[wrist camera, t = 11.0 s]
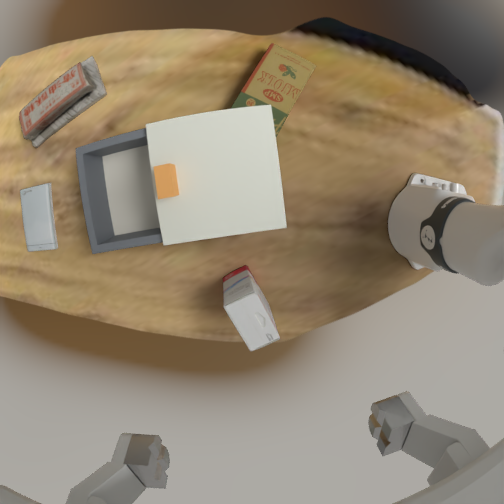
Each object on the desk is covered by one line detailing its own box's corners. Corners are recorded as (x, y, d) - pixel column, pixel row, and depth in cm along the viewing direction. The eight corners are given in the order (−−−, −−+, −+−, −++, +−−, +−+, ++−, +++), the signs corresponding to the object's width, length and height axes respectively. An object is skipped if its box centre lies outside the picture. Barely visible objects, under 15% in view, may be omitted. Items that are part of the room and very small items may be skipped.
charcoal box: (186, 130, 42) (177, 121, 34) (200, 227, 46) (194, 237, 38) (98, 151, 41) (75, 148, 34) (112, 242, 45) (92, 254, 38)
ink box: (221, 276, 48) (219, 305, 37) (248, 262, 48) (254, 289, 37) (245, 316, 50) (249, 354, 39) (270, 304, 50) (281, 339, 39)
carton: (311, 73, 41) (318, 65, 37) (268, 149, 44) (272, 146, 40) (268, 51, 39) (271, 41, 35) (222, 126, 42) (222, 121, 38)
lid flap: (270, 106, 34) (274, 97, 30) (285, 226, 39) (292, 232, 34) (147, 125, 34) (137, 119, 30) (165, 244, 38) (157, 252, 34)
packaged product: (23, 148, 35) (13, 107, 33) (37, 149, 40) (26, 111, 38) (98, 88, 35) (84, 48, 32) (109, 95, 39) (95, 57, 37)
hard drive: (19, 189, 40) (26, 252, 43) (47, 183, 41) (55, 249, 44) (24, 189, 42) (31, 250, 45) (52, 182, 42) (59, 247, 45)
